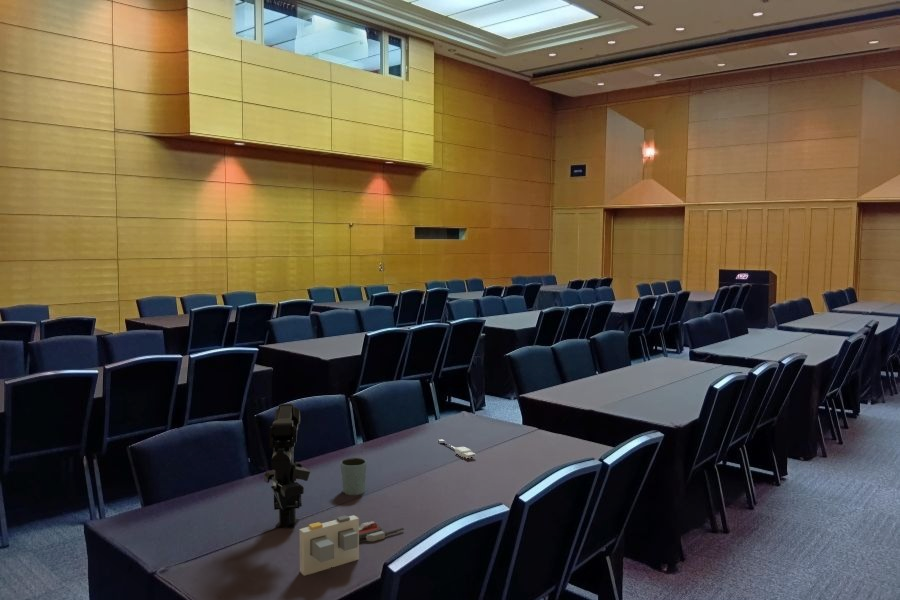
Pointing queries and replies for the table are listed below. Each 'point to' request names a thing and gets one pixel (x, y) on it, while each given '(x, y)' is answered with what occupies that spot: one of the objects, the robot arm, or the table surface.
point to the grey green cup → (353, 475)
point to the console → (331, 532)
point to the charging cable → (463, 451)
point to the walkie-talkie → (373, 532)
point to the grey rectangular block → (322, 548)
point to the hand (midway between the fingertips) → (283, 509)
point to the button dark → (347, 539)
